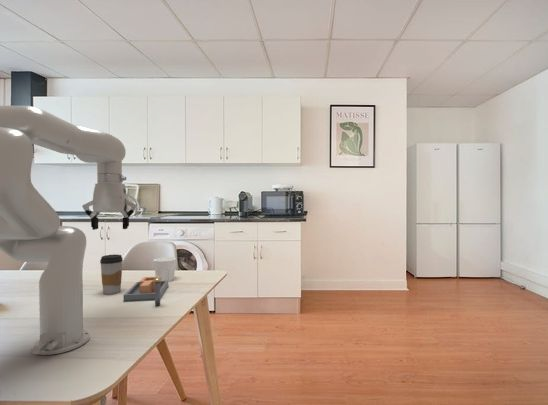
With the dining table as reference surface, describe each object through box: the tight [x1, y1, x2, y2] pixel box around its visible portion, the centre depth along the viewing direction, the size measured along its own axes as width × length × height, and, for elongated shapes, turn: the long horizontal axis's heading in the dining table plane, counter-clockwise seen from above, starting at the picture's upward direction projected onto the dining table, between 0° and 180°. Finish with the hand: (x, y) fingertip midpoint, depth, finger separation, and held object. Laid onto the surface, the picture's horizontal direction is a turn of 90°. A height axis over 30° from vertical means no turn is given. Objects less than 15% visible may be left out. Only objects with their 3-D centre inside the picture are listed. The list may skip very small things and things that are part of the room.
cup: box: [153, 256, 177, 283], centre depth 144 cm, size 10×10×10 cm
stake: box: [154, 278, 161, 307], centre depth 110 cm, size 3×3×10 cm
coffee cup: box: [99, 254, 124, 296], centre depth 125 cm, size 8×8×15 cm
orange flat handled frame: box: [138, 276, 161, 294], centre depth 124 cm, size 7×13×4 cm, turn 8°
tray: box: [123, 281, 169, 303], centre depth 124 cm, size 18×13×2 cm
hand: (110, 229), depth 105 cm, fingers open, 9 cm apart
